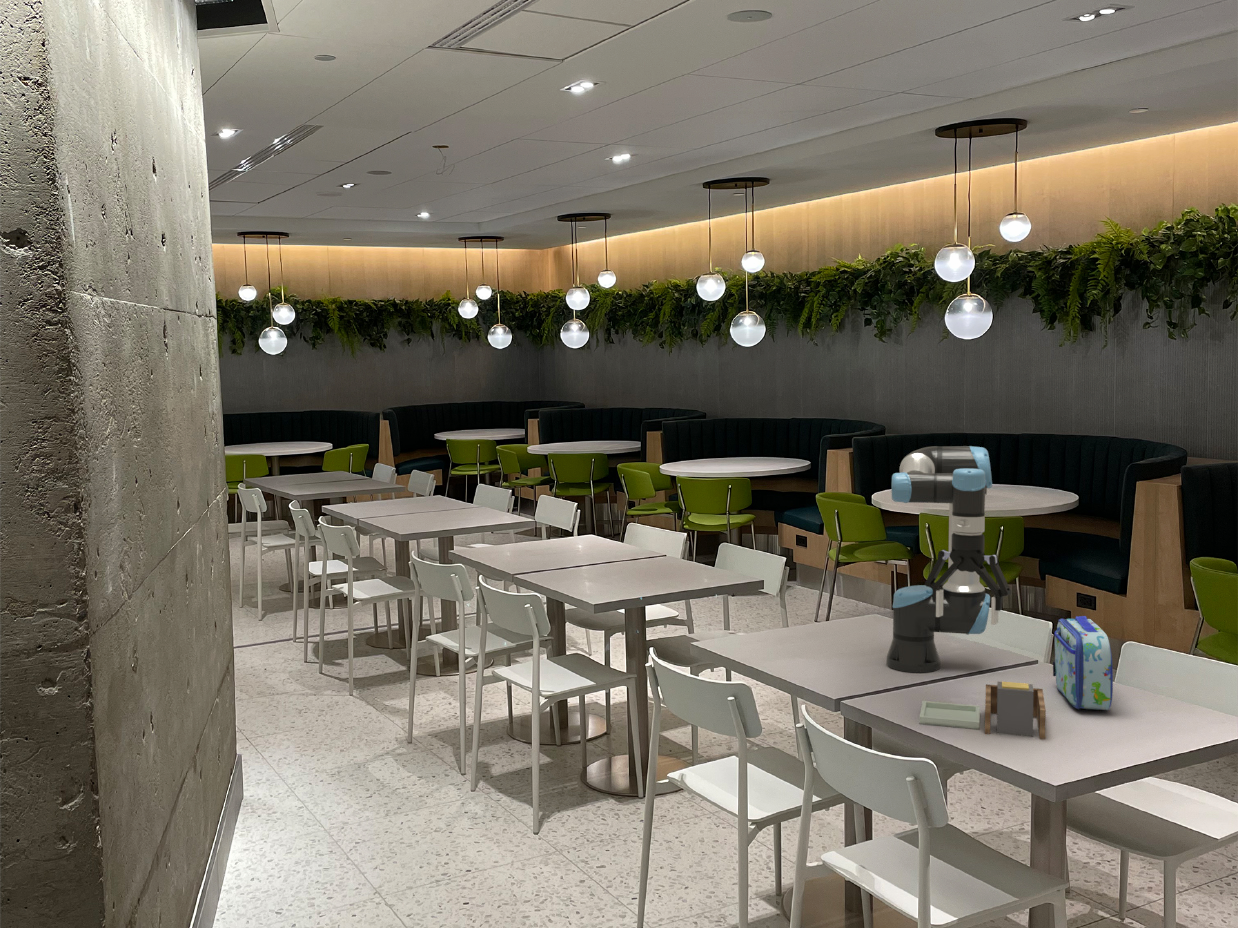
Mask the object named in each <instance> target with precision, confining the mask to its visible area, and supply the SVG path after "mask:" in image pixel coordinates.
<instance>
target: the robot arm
mask: <svg viewBox="0 0 1238 928" xmlns="http://www.w3.org/2000/svg"><path fill="white" fill-rule="evenodd" d="M989 456H990V455H989V451H988V450H987V448H985V447H982V446H981V447H980V446H972V445H969V446H967V445H963V446H962V445H961V446H959V445H958V446H952V445H950V446H932V445H931V446H926V447H922V448H919V449H916V450H913V451H911V452H910V453H908V454H906V456H904V457H903V459H902V460H901V462H900V463H899V465H900V466H899V472H895V473H893V474H892V475H891V500H892V501H893V502H895V503H904V504H909V503H917V504H919V503H920V504H922V503H924V504H925V503H928V504H929V503H931V504H948V505H949V509H948V512H949V513H948V517H949V518H948V551H947V550H946V549H942V550H939V551H938V554H937V560H936V561H935V564H934V565H933V567H932V569H931V571H930V573H929V575H928V577H927V579H926V581H925V582H924V585H922V584H921V585H919V584H917V585H909V586H904V587H901V588H898V589H897V590H896V591H895V592H894V593H893V603H892V608H893V614H892V615H893V616H892V617H893V618H892V621H893V622H892V641H891V644H890V645H889V649H888V653H887V655H886V666H887V667H888V668H891V669H893V670H896V671H901V672H905V673H906V672H907V673H931V672H935V671H938V670H939V669H940V667H941V659H940V655H939V653H938V650H937V647H936V642H935V633H945V634H947V633H949V634H959V635H960V634H964V635H980V634H983V633H984V632H985V630H986V629H987V624H988V618H989V614H990V613H989V612H991V617H990V618H991V620H990V624H991V625H992V626H993V625H997V624H998V623H999V612H1000V611H1002V610H1003V603H1004V602H1003V599H1004V597H1006V596H1008V595H1010V594H1012V590H1011V588H1010V586H1009V584H1008V582H1007V579H1006V577H1005V576H1004V573H1003V571H1002V569H1001V567H1000V565H999V557H998V555H997V554H992V555H985V535H984V534H983V533H985V530H986V529H985V527H986V525H985V524H986V523H985V522H986V521H985V517H986V516H985V515H986V514H985V513H986V512H985V507H986V506H985V505H986V496H987V493H988V491H987V489H991V488H993V480H992V479H993V478H992V471H991V469H992V468H991V462H990V457H989ZM946 560H948V568H947V570H945V572H944V573H943V574H942V575H941V576H940V577H939V578H938V576H939V574H940V572H941V570H942V568H943V567H944V564H945V563H946ZM985 562H986V563H987V564H988V565H989V566H990V569H991V572H992V574H993V576H994V578H995V580H996V581H995V580H994V578H993V577H992V576H991V574H990V573H989V572H988V571H987V568H986V567H985V566H984V563H985ZM937 579H938V580H937ZM980 579H981V580H982V581H983V582H984V583H985V585H986V587H987V588H988V589H989V590H990V591H991V592H992V594H993V596H992V597H991V596H990V594H988V593H985V592H986V588H985V586H984V585H983V584H982V583H981V582H980ZM990 603H991V604H990ZM990 605H991V608H990ZM990 609H991V610H990Z"/></svg>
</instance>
